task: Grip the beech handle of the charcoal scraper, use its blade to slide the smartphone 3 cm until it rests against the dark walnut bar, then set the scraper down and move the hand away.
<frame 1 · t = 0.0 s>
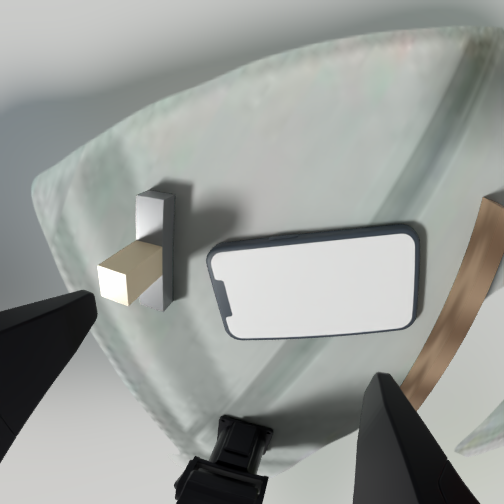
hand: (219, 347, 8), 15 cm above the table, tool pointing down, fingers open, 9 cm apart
scraper: (161, 248, 26), on the table
smartphone: (316, 282, 24), on the table
walnut bar: (447, 314, 21), on the table
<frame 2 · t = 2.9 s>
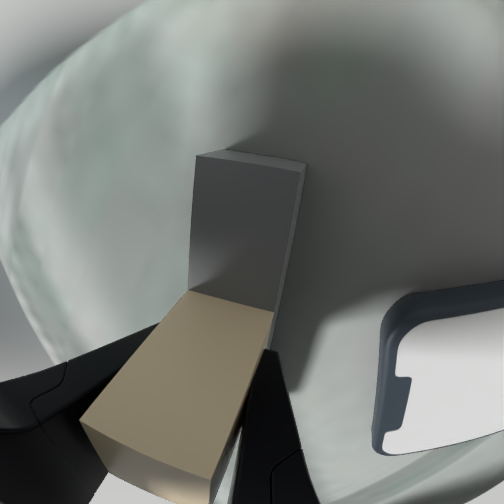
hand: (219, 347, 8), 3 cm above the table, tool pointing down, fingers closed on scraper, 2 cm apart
scraper: (243, 301, 11), on the table, touching gripper
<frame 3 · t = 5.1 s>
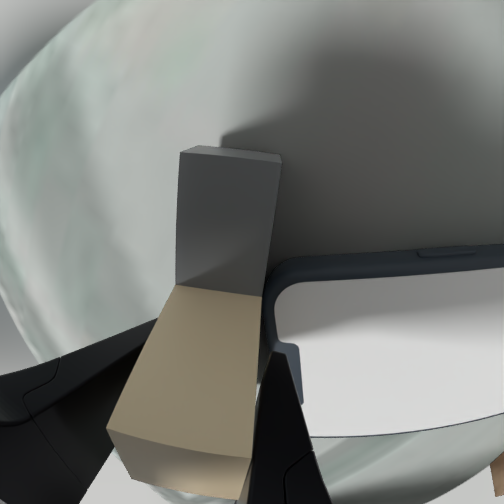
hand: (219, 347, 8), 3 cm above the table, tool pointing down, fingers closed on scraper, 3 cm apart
scraper: (224, 291, 11), on the table, tilted 12°, touching gripper
smartphone: (464, 337, 10), on the table
when the fingers open (3 cm above the table, at t = 10.0 s): scraper stays where it is, on the table.
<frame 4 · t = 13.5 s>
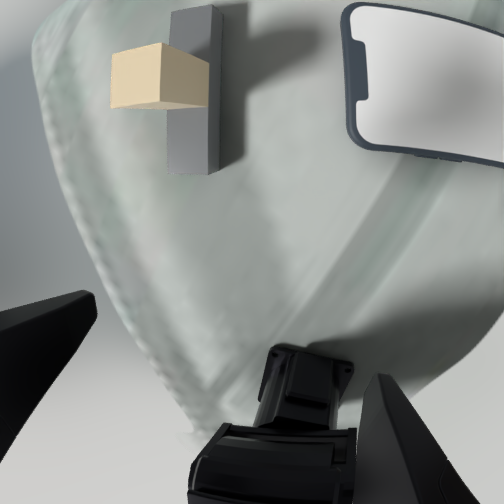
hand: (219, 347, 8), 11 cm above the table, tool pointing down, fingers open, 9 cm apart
scraper: (201, 90, 16), on the table
smartphone: (469, 92, 13), on the table
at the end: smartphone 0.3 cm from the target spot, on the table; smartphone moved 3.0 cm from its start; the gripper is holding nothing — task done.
